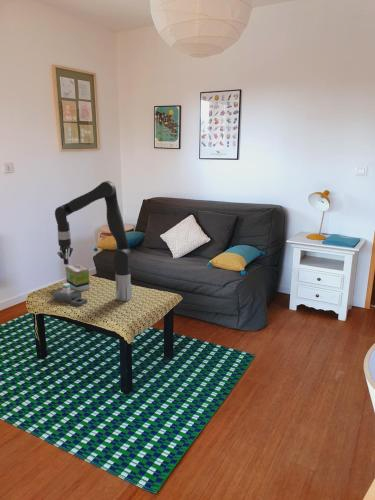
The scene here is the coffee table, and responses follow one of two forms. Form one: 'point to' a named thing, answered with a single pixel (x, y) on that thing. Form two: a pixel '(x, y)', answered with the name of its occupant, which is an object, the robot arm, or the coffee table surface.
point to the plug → (66, 288)
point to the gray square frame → (78, 302)
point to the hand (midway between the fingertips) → (66, 264)
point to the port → (66, 295)
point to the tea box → (77, 277)
